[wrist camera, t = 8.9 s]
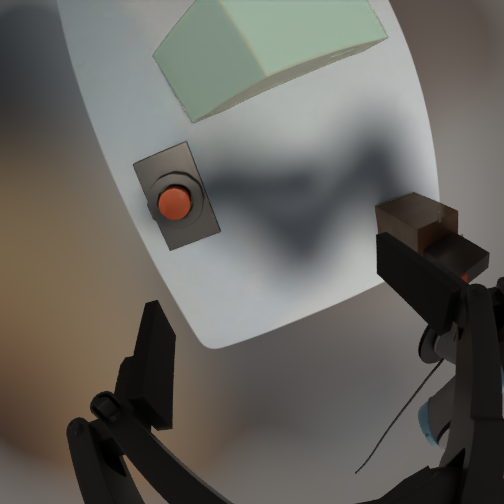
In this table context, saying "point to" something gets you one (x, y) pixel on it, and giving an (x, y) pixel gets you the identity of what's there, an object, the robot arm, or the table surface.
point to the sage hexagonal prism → (258, 47)
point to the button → (175, 203)
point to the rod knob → (459, 256)
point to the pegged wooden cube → (416, 220)
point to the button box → (183, 175)
